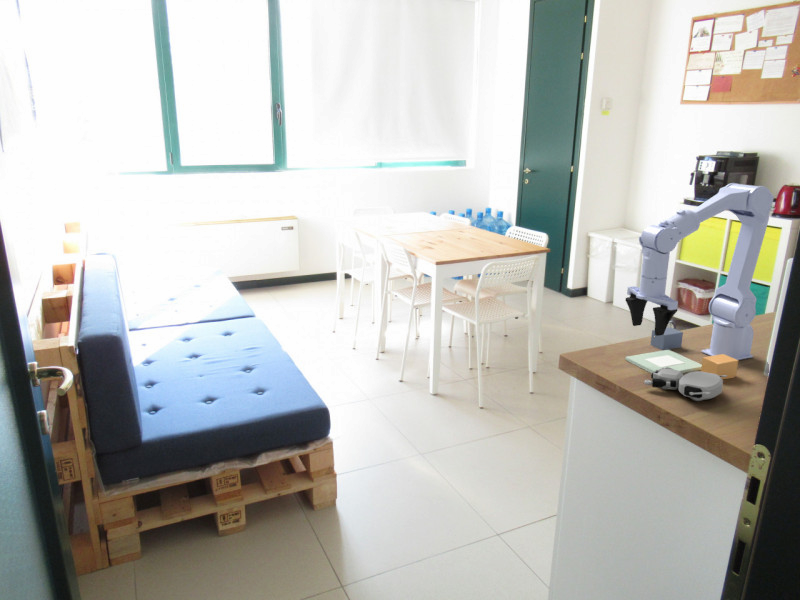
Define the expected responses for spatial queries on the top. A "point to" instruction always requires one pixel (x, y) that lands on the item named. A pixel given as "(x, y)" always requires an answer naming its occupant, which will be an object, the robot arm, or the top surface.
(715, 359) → the orange brick
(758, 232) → the robot arm
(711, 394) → the robot toy
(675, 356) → the baseplate
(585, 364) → the top surface
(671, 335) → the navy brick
